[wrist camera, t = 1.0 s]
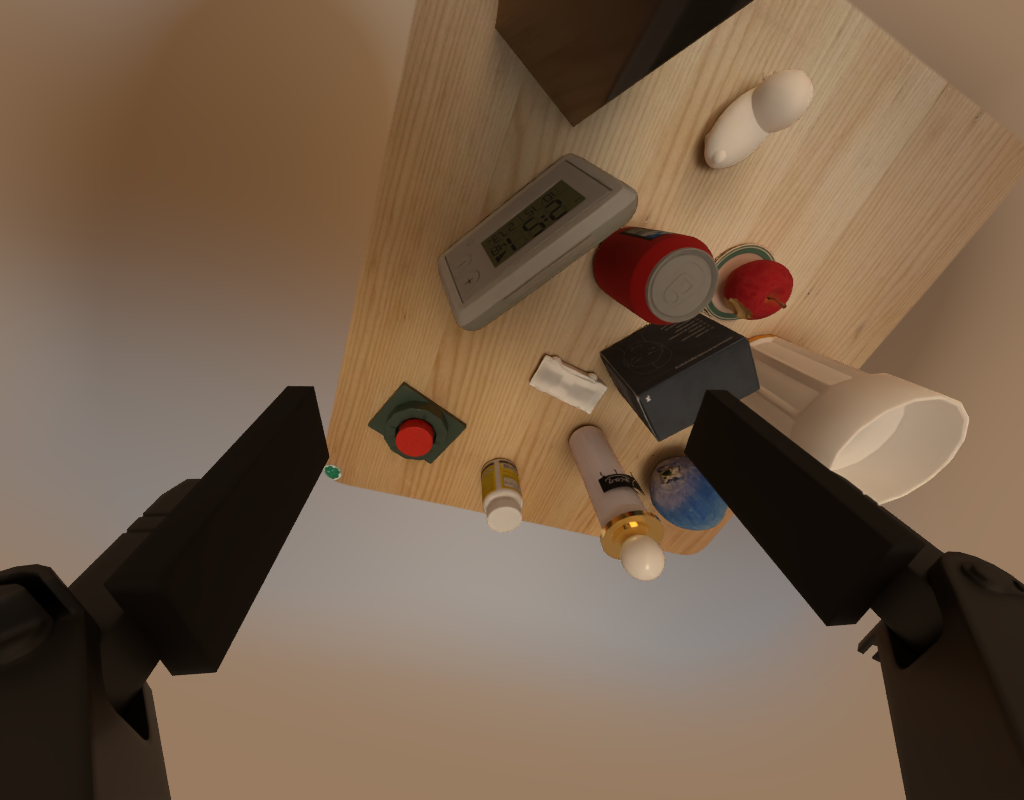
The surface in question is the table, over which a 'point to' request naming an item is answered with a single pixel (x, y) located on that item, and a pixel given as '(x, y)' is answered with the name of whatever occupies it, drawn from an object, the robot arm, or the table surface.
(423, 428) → the button
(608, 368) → the box
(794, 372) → the cup
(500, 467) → the supplement bottle
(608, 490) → the perfume bottle
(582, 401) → the toy car
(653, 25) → the pillar
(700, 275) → the beverage can
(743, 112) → the toy creature
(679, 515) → the blue plum
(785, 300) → the apple
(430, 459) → the button box
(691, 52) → the table surface
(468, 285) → the digital clock
